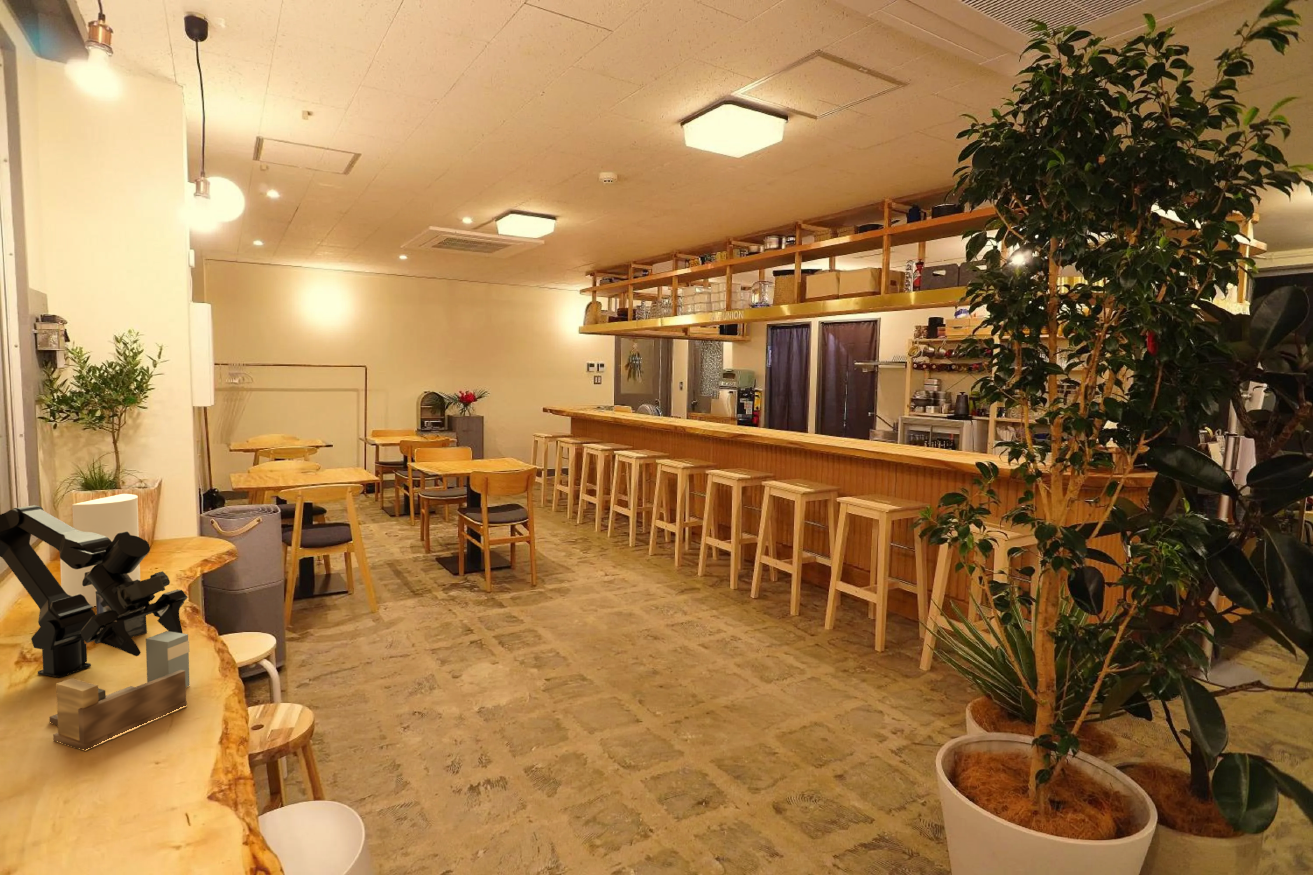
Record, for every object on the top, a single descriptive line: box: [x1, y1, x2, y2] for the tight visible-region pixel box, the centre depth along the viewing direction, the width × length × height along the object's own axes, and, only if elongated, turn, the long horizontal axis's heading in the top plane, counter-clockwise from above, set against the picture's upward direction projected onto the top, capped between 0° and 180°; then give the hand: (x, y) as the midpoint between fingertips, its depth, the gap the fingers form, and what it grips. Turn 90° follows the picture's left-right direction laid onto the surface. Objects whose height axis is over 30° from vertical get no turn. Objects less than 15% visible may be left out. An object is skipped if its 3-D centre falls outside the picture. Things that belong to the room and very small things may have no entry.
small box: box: [95, 591, 148, 638], centre depth 170 cm, size 11×6×10 cm, turn 62°
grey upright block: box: [145, 630, 190, 688], centre depth 141 cm, size 5×6×11 cm
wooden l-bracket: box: [49, 670, 188, 750], centre depth 128 cm, size 18×16×10 cm
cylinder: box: [59, 493, 141, 608], centre depth 194 cm, size 17×17×28 cm
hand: (160, 646), depth 141 cm, fingers open, 9 cm apart
